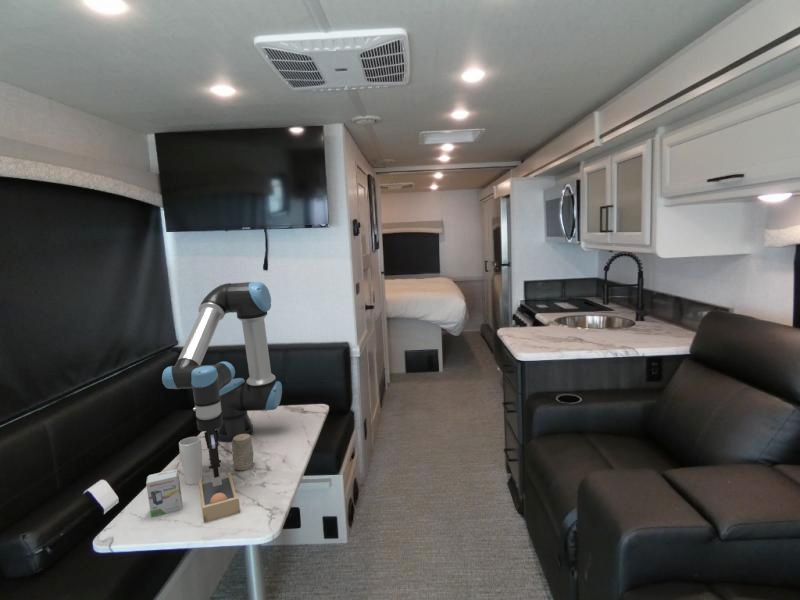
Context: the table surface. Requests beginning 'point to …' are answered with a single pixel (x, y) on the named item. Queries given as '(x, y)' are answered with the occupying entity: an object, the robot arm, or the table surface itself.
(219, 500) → the ball
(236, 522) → the table surface
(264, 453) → the table surface
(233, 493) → the lane
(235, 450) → the carving
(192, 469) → the drinking glass
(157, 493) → the ink box
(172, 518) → the table surface
